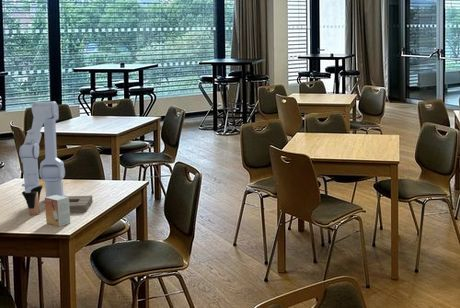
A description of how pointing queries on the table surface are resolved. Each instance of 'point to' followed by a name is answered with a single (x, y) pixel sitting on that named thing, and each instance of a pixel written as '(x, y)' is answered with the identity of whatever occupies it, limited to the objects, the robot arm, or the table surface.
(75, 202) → the socket block
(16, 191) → the table surface
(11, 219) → the table surface
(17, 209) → the table surface
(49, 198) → the small box
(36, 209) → the peg
